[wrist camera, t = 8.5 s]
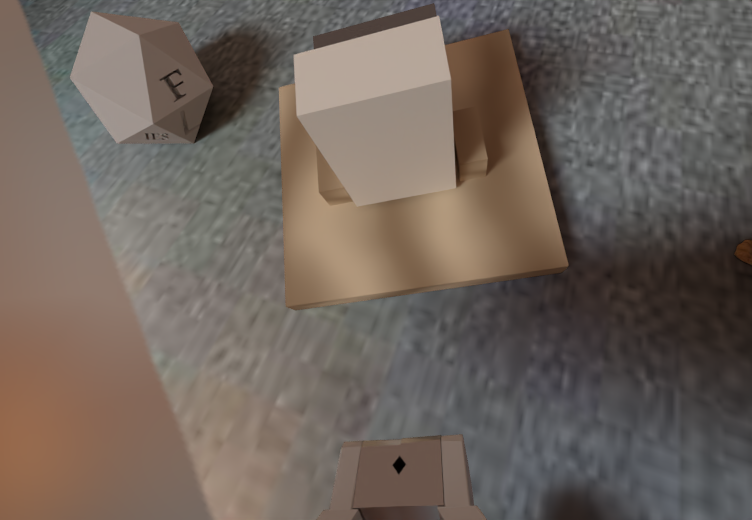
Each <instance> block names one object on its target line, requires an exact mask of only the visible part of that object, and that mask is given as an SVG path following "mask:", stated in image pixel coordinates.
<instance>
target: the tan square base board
mask: <svg viewBox="0 0 752 520" xmlns="http://www.w3.org/2000/svg"><path fill="white" fill-rule="evenodd" d="M445 50H446V56H447V61H448V66H449V71H450V77H451V90H452V111H453V132H454V153H455V174H456V188H454V189H449V190H444V191H438V192H433V193H428V194H422V195H417V196H412V197H406V198H401V199H396V200H390V201H385V202H380V203H374V204H369V205H363V206H358V207H357V206H356V204H355V203H354V201H353V200H352V198H351V197H350V195H349V194H348V192H347V191H346V189H345V188H344V186H343V185H342V183H341V182H340V180H339V179H338V177H337V176H336V174H335V173H334V171H333V170H332V168H331V167H330V165H329V164H328V162H327V161H326V159H325V158H324V156H323V155H322V153H321V152H320V150H319V149H318V147H317V146H316V144H315V143H314V141H313V140H312V138H311V137H310V135H309V134H308V132H307V131H306V129H305V128H304V126H303V125H302V123H301V122H300V120H299V119H298V117H297V113H296V92H295V84H291V85H287V86H283V87H279V104H280V136H281V168H282V200H283V233H284V265H285V297H286V307H288V308H291V309H294V310H301V309H309V308H316V307H323V306H330V305H337V304H344V303H351V302H358V301H365V300H372V299H379V298H386V297H393V296H401V295H408V294H415V293H422V292H429V291H436V290H443V289H450V288H457V287H464V286H471V285H478V284H486V283H493V282H500V281H507V280H514V279H521V278H528V277H535V276H542V275H549V274H556V273H562V272H563V271H564V270H565V269H566V268H567V267H568V266H569V265H568V261H567V257H566V253H565V249H564V245H563V241H562V237H561V234H560V230H559V226H558V222H557V218H556V214H555V210H554V206H553V202H552V198H551V194H550V190H549V186H548V182H547V179H546V175H545V171H544V167H543V163H542V159H541V155H540V151H539V147H538V143H537V139H536V135H535V131H534V127H533V124H532V120H531V116H530V112H529V108H528V104H527V100H526V96H525V92H524V88H523V84H522V80H521V76H520V73H519V69H518V65H517V61H516V57H515V53H514V49H513V45H512V41H511V37H510V33H509V29H507V30H503V31H499V32H495V33H491V34H487V35H483V36H479V37H475V38H471V39H467V40H464V41H460V42H456V43H452V44H448V45H445Z"/></svg>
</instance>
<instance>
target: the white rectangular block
mask: <svg viewBox="0 0 752 520" xmlns="http://www.w3.org/2000/svg"><path fill="white" fill-rule="evenodd" d="M294 70H295V92H296V113H297V117H298V119H299V120H300V122H301V123H302V125H303V126H304V128H305V129H306V131H307V132H308V134H309V135H310V137H311V138H312V140H313V141H314V143H315V144H316V146H317V147H318V149H319V150H320V152H321V153H322V155H323V156H324V158H325V159H326V161H327V162H328V164H329V165H330V167H331V168H332V170H333V171H334V173H335V174H336V176H337V177H338V179H339V180H340V182H341V183H342V185H343V186H344V188H345V189H346V191H347V192H348V194H349V195H350V197H351V198H352V200H353V201H354V203H355V204H356V206H357V207H358V206H363V205H369V204H374V203H380V202H385V201H390V200H396V199H401V198H406V197H412V196H417V195H422V194H428V193H433V192H438V191H444V190H449V189H454V188H456V174H455V153H454V132H453V111H452V90H451V77H450V71H449V66H448V61H447V56H446V50H445V45H444V40H443V35H442V29H441V24H440V19H439V16H436V17H433V18H429V19H425V20H422V21H418V22H414V23H410V24H407V25H403V26H399V27H396V28H392V29H388V30H384V31H381V32H377V33H373V34H370V35H366V36H362V37H358V38H355V39H351V40H347V41H344V42H340V43H336V44H332V45H329V46H325V47H321V48H318V49H314V50H310V51H306V52H303V53H299V54H295V55H294Z"/></svg>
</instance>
